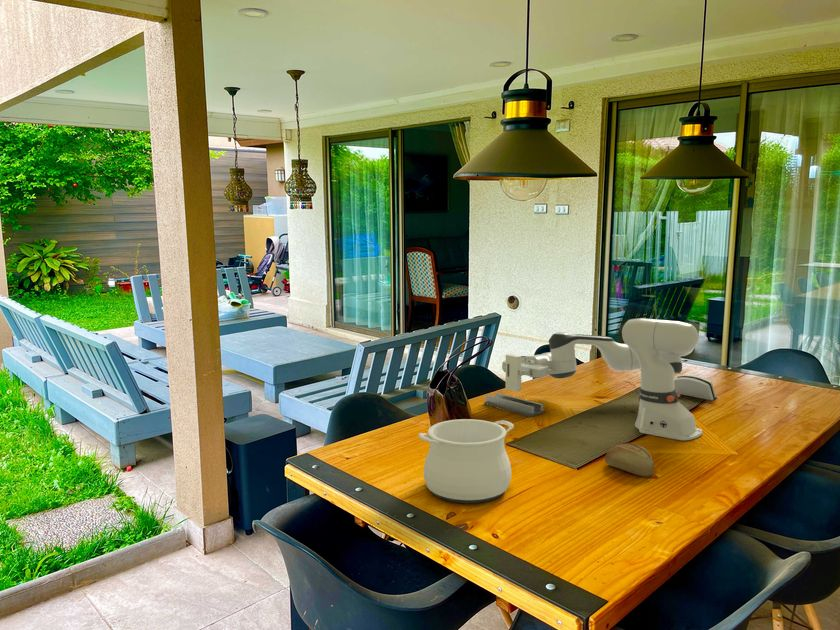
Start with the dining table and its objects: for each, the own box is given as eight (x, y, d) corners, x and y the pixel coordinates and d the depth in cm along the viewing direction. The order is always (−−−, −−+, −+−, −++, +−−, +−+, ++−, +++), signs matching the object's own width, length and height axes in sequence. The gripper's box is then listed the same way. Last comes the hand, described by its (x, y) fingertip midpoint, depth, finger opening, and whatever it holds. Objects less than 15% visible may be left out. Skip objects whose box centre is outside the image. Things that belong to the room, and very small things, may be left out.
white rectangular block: (521, 390, 255) (521, 356, 253) (516, 392, 254) (516, 357, 252) (509, 387, 260) (509, 353, 258) (505, 389, 258) (505, 354, 256)
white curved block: (718, 398, 267) (715, 377, 264) (712, 403, 265) (709, 383, 261) (679, 390, 280) (676, 370, 277) (674, 396, 277) (671, 375, 274)
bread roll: (614, 460, 201) (614, 435, 200) (660, 472, 190) (662, 446, 189) (598, 468, 194) (599, 443, 193) (646, 482, 184) (646, 455, 183)
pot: (440, 516, 164) (439, 450, 162) (404, 482, 187) (402, 423, 184) (534, 496, 175) (535, 434, 173) (489, 466, 198) (489, 410, 195)
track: (544, 412, 252) (544, 403, 251) (529, 417, 246) (529, 408, 245) (498, 400, 270) (498, 392, 269) (484, 404, 264) (484, 396, 263)
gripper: (554, 378, 257) (532, 384, 248) (515, 369, 272) (493, 375, 263) (555, 362, 256) (532, 368, 247) (515, 355, 271) (493, 360, 262)
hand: (511, 371), depth 255 cm, fingers closed on white rectangular block, 6 cm apart
